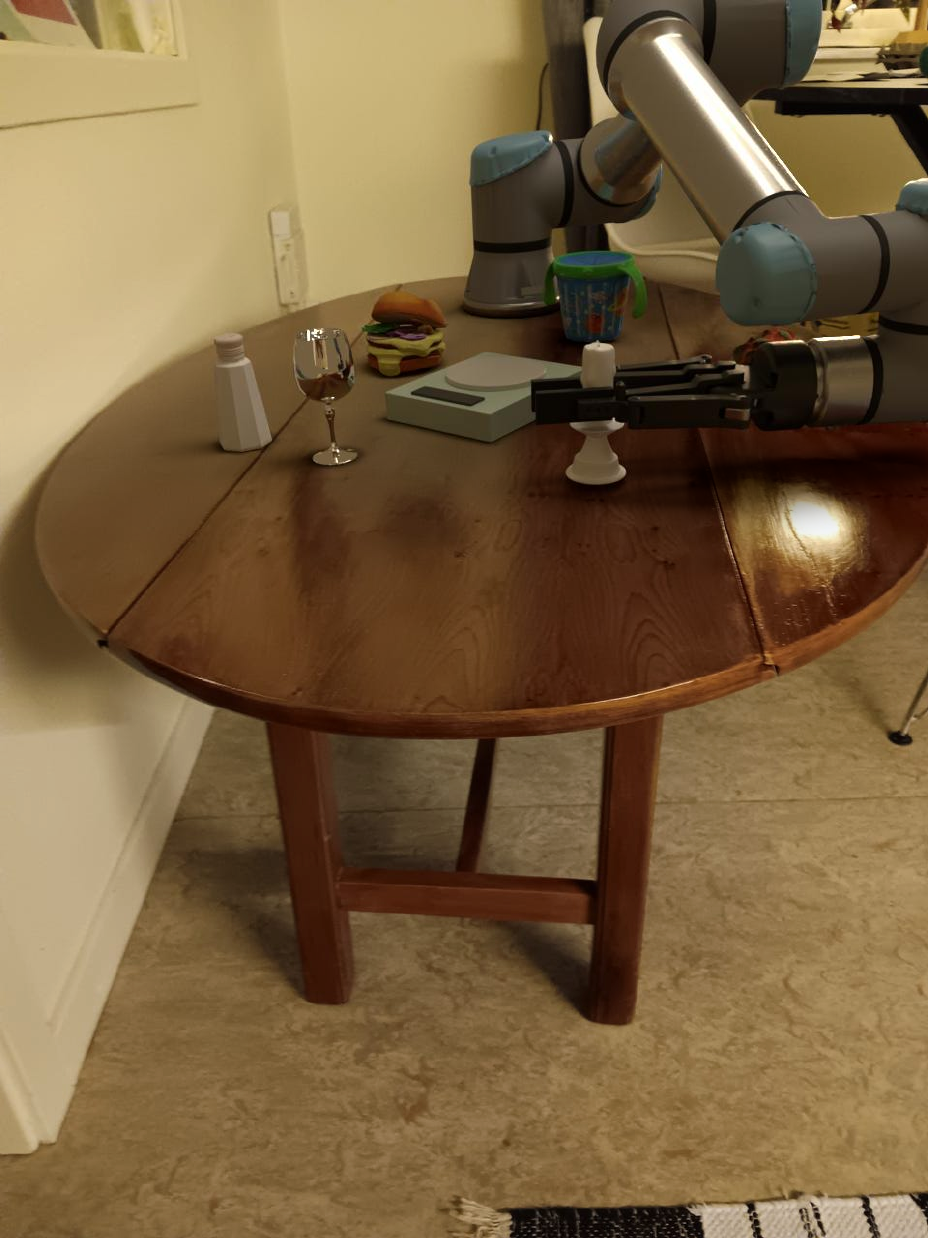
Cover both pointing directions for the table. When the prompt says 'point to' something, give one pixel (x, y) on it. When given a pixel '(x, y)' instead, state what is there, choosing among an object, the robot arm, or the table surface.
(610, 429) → the candle
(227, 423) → the pepper shaker
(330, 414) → the wineglass
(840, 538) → the table surface
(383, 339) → the cheeseburger
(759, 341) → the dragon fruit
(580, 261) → the snack cup
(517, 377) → the kitchen scale
